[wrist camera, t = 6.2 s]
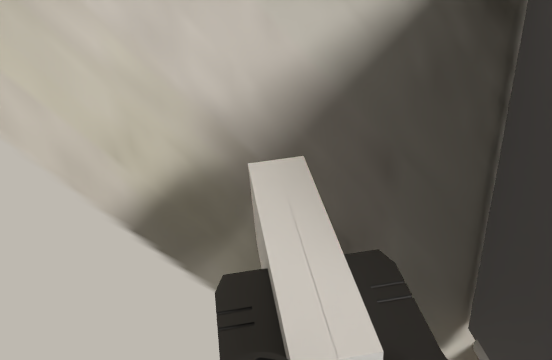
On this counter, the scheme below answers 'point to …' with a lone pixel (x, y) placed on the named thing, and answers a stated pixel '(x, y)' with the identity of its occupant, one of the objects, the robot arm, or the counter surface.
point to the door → (521, 213)
